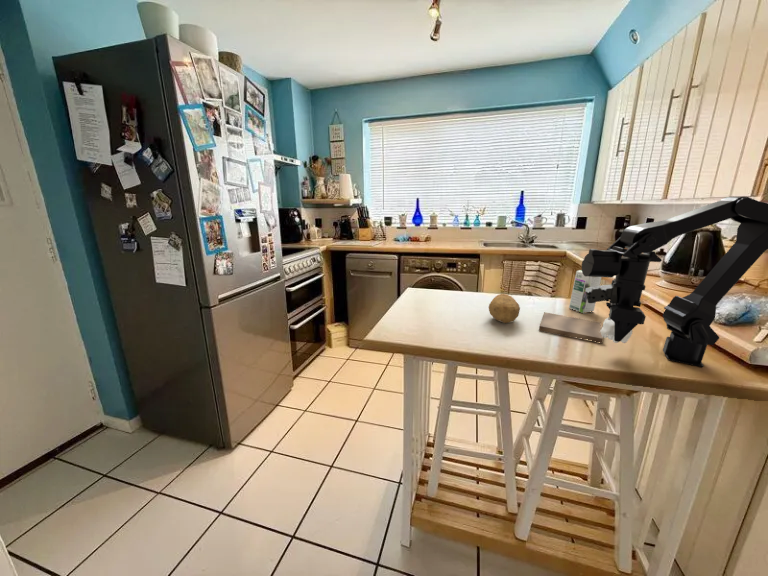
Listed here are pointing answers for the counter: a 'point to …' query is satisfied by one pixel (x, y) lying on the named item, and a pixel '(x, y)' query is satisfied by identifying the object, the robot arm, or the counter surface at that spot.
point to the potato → (504, 308)
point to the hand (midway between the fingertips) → (615, 336)
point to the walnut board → (571, 327)
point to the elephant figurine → (612, 331)
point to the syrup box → (582, 292)
